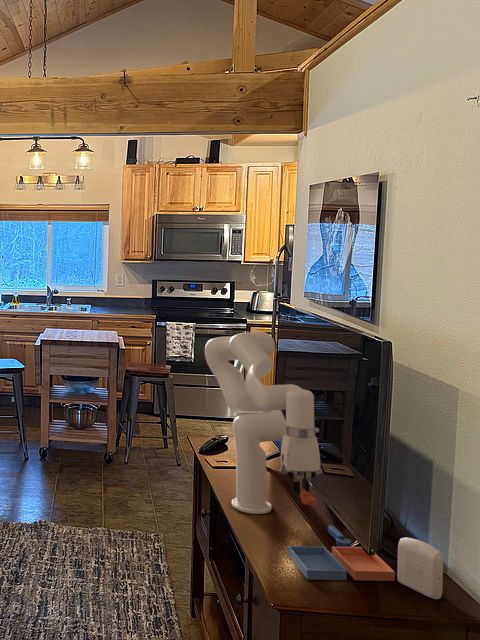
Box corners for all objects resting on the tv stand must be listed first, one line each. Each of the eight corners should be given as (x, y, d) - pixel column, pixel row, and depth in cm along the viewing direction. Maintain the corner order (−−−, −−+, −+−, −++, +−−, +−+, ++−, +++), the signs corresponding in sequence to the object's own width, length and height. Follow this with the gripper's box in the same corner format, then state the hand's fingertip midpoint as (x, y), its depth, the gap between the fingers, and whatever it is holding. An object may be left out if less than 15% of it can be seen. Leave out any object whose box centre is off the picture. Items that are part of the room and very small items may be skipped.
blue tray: (287, 554, 184) (287, 545, 184) (324, 555, 183) (324, 546, 183) (307, 579, 170) (307, 570, 170) (346, 580, 169) (346, 570, 169)
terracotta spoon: (290, 491, 195) (290, 484, 195) (303, 491, 194) (303, 484, 194) (304, 505, 184) (304, 498, 184) (318, 505, 183) (318, 498, 183)
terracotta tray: (331, 555, 183) (331, 546, 183) (368, 555, 182) (368, 547, 182) (354, 580, 169) (354, 570, 169) (394, 581, 168) (394, 571, 168)
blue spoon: (323, 531, 198) (323, 525, 198) (336, 531, 198) (336, 525, 198) (339, 548, 187) (339, 541, 187) (353, 548, 187) (353, 541, 187)
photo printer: (445, 597, 160) (446, 548, 160) (434, 601, 159) (435, 551, 158) (405, 578, 170) (405, 531, 169) (394, 581, 168) (394, 535, 167)
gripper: (322, 428, 194) (323, 489, 194) (268, 428, 195) (269, 489, 196) (333, 435, 187) (333, 498, 187) (276, 435, 188) (277, 498, 188)
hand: (300, 493), depth 191 cm, fingers closed on terracotta spoon, 1 cm apart
